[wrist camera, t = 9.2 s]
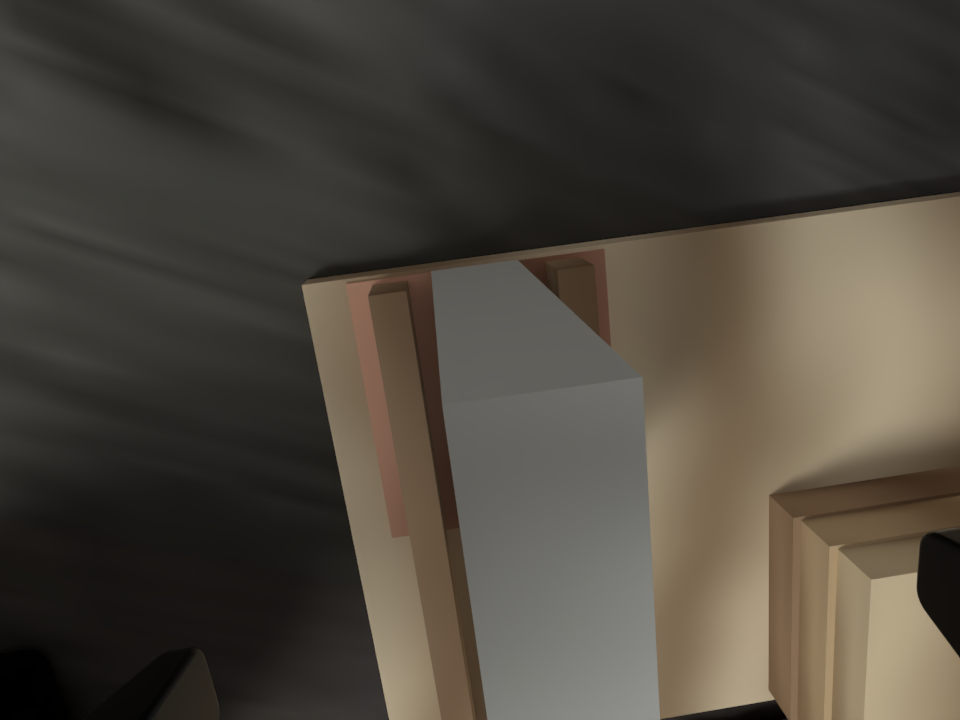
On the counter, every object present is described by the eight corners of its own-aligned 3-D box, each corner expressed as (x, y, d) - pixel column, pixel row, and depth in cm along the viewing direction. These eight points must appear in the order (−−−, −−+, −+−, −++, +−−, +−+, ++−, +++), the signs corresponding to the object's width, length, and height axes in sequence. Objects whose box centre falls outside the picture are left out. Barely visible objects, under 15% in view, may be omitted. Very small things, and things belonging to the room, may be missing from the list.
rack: (399, 740, 20) (396, 812, 18) (307, 279, 16) (288, 297, 14) (972, 644, 21) (1039, 701, 18) (1023, 183, 17) (1115, 184, 14)
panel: (466, 525, 17) (512, 894, 8) (430, 271, 15) (442, 406, 6) (543, 513, 17) (667, 866, 8) (517, 259, 15) (642, 377, 7)
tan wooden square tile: (768, 689, 19) (790, 722, 18) (769, 495, 18) (793, 518, 16) (963, 657, 20) (997, 687, 18) (984, 461, 18) (1022, 482, 17)
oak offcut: (797, 718, 18) (822, 755, 17) (800, 520, 16) (829, 546, 15) (990, 685, 18) (1028, 719, 17) (1015, 486, 17) (1058, 510, 16)
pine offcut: (830, 751, 17) (859, 792, 16) (837, 549, 15) (871, 579, 14) (1021, 718, 17) (1064, 756, 16) (1050, 515, 16) (1100, 542, 14)
